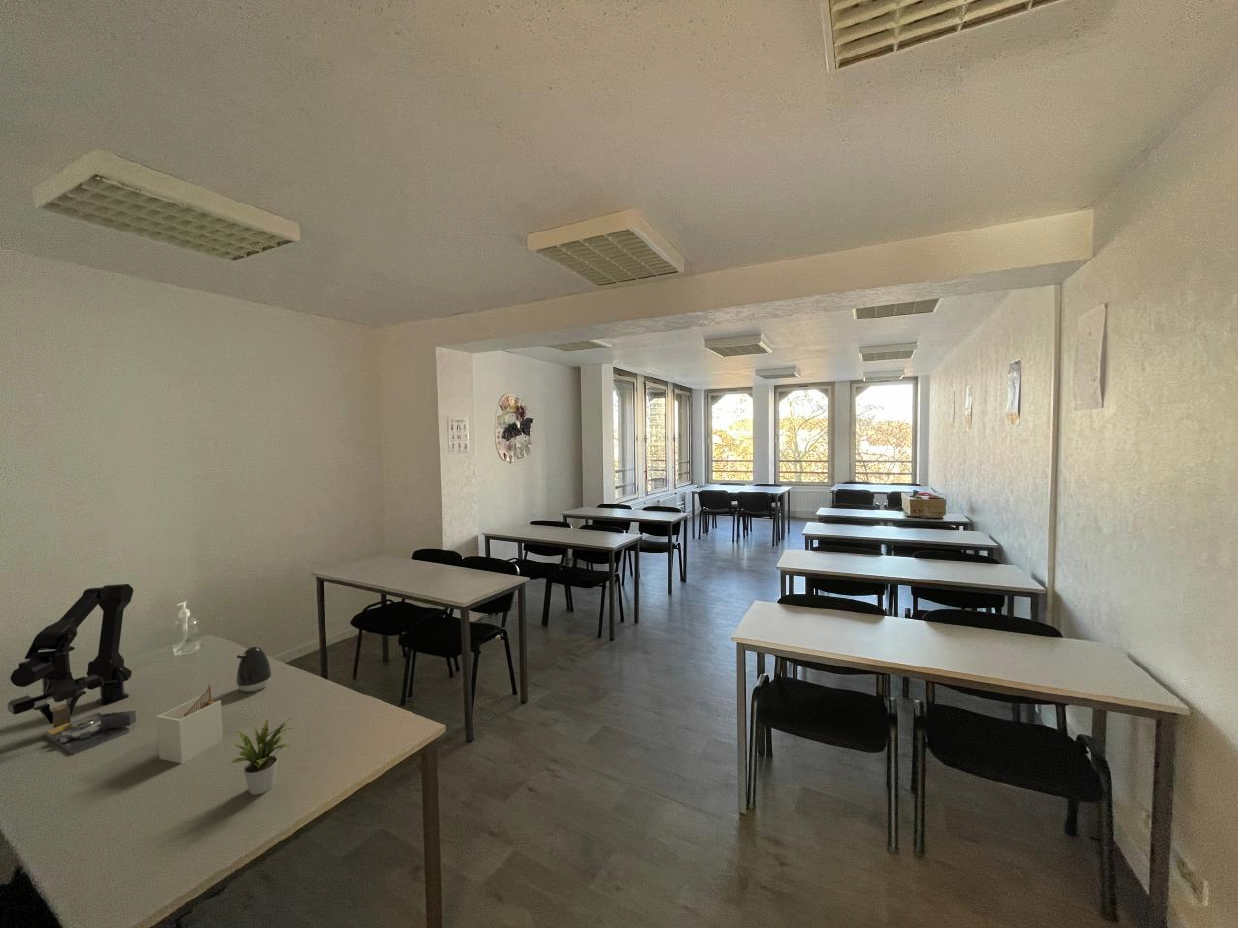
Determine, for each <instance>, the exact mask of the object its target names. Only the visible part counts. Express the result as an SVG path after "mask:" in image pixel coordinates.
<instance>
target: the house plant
mask: <svg viewBox="0 0 1238 928" xmlns="http://www.w3.org/2000/svg"><path fill="white" fill-rule="evenodd" d="M291 719H292V718H291V717H290V718H288V719H287V720H285V721H284V722H282V723H281V724H280V725H279V726H278V727H277V728H275V729H273V730H272V731H270V732H269V730H270V729H269V719H266V720H265V722H264V724H263V726H262V728H261V732H260V734H259V732H258V730H257V728H256V727H255V726H252V727H253V731H254V733H255V738H254V740H256V745H257V748H258V749H257V750H256V749H255V747H254V745H253V743H252V741H251V739H250V737H249V736H248V735H247V734H245V733H242V732H240V731H236V730H235V733H236V734H237V735H238V736H239V737H240V739H241V741H242V742H243V744H244V746H243V745H241V744H238V743H232V745H233V746H235V747H238V748H239V749H241V750H242V751H239V755H240V756H241V757H237V758H235V759H233V760H231V762H230V763H229V765H231V764H235V763H236V764H237V763H240V762H245V761H246V762H248V763H247V764H246V765H244V768H243V774H244V777H245V781H246V785H247V788H248V792H249V793H250V795H254V796H257V795H261V794H264V793H266V792H268V791H270V790H272V788H273V787H275V784H276V777H277V776H276V775H277V769H278V763H279V762H278V761H279V758H278V756H277V755H276V754H277V753H278V752H279V751H280V750H282V749H283V748H287V747H288V748H290V744H284V743H283V744H279V743H280V742H281V741H282V740H283V737H282V736H284V733H283V732H285V731H287V730H291V729H293V727H288V728H284V727H285V726H287V725H288V724H286V723H288V722H289V721H290V720H291ZM271 734H272V735H271ZM279 734H280V735H279ZM270 735H271V736H270ZM278 735H279V736H278ZM269 736H270V738H269V739H267V738H268V737H269ZM275 750H277V751H276V752H275V753H274V754H272V753H273V752H274V751H275Z"/></svg>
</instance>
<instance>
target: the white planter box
mask: <svg viewBox="0 0 1238 928" xmlns="http://www.w3.org/2000/svg"><path fill="white" fill-rule="evenodd" d="M211 689H212V688H211V684H209V685H208V688H207V689H206V691H205V692H204V693H203V694H202V695H201V696H197V697H195V698H193V699H191V700H189V701H186V702H185V703H183V704H182V703H181V705H178V706H176V707H173V708H172V709H170V710H168V711H165V712H163V713H160V714H159V715H157V716H156V726H157V740H158V742H157V743H158V754H159V756H158V757H159V760H163V761H169V762H172V763H173V762H174V763H178V764H184V763H186V762H187V761H189V760H191V759H193V758H194V757H196V756H198V755H200V754H201V753H203V752H205V751H207V750H210V748H212V747H214V746H216V745H218V744H219V743H221V742H223V741H224V732H223V731H224V729H223V727H224V726H223V714H222V713H223V712H222V700H220V699H218V700H217V701H214V700H212V691H211ZM205 696H208V697H205Z"/></svg>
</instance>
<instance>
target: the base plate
mask: <svg viewBox="0 0 1238 928" xmlns="http://www.w3.org/2000/svg"><path fill="white" fill-rule="evenodd" d="M102 715H103V714H102V713H100V712H96V713H93V714H90V715H88V716H85V717H82V718H80V719H76V720H73V721H71V722H69V723H67V724H64V725H61V726H58V727H56V728H52V729H48V730H46V731H44V732H43V736H44V737H45V738H47V739H49V740H50V741H52V742H54V743H55V744H56V745H58V746H60V748H62V749H64V751H67V752H68V753H69V754H71V755H76V754H78V753H82V752H84V751H86V750H89V749H91V748H93V747H95V746H98V745H101V744H103V743H106V742H108V741H110V740H113V739H116V738H118V737H121V736H123V735H126V734H128V733H130V728H129V727H128V726H123V727H115V728H108V729H107V730H105V731H99V732H97V733H95V734H92V735H91V736H90V737H88V738H84V739H81V740H80V738H78V739H73V740H70V741H68V742H60V739H58V740H55V734H56V733H57V732H60V731H63V730H62V727H64V726H66V725H68V724H74V723H76V722H79V721H82V720H83V719H84V718H87V717H91V716H92V717H98V716H102Z"/></svg>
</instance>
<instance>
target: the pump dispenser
mask: <svg viewBox="0 0 1238 928" xmlns="http://www.w3.org/2000/svg"><path fill="white" fill-rule="evenodd" d="M265 653H266V652H265V651H264V650H263V649H262V648H261V647H259V646H251V647H249V648H247V649H246V650H244V652H243V654H238V655H237V656H236V658H237V659H240V660H239V663H238V666H237V670H236V677H235V678H236V679H235V683H236V685H237V687H238V689H239V690H240V691H242V692H245V693H253V692H257V691H260V690H261V689H264V688H265V687H266V686H267V685H268V684H269V682H270V680H271V677H272V675H273V673H272V668H271V664H270V661H269V659H268V656H267V654H265Z"/></svg>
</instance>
